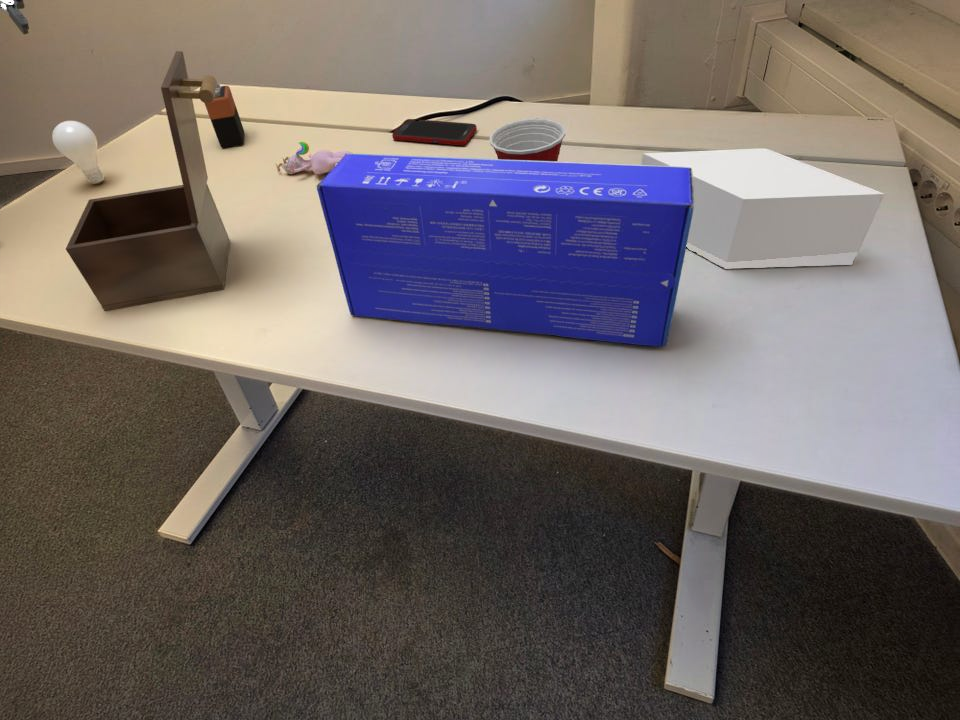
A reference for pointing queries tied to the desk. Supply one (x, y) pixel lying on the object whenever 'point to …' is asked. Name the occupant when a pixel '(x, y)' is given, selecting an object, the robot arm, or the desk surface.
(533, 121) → the plastic cup
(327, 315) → the desk surface
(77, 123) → the lightbulb
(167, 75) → the chest lid
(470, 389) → the desk surface
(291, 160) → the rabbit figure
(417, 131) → the cell phone
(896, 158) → the desk surface
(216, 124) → the battery
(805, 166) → the white box
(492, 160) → the blue cardboard box
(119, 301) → the chest
